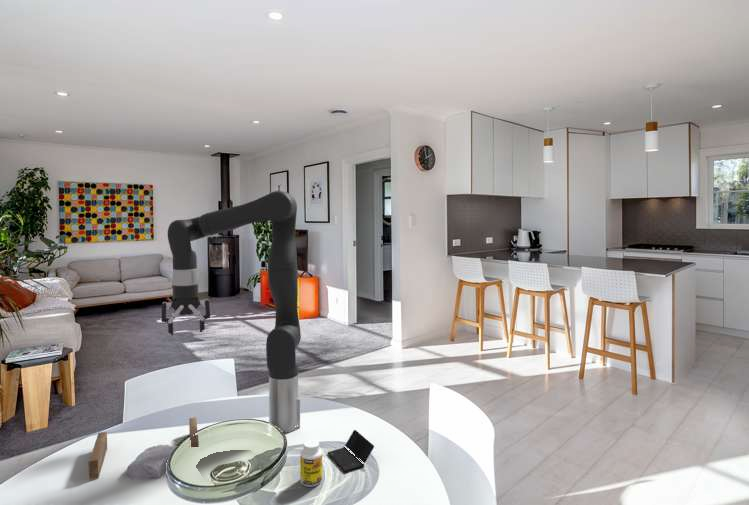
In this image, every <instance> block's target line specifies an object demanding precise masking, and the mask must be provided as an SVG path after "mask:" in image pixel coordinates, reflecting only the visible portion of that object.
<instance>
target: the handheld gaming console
mask: <svg viewBox="0 0 749 505" xmlns="http://www.w3.org/2000/svg"><path fill="white" fill-rule="evenodd" d="M344 446H346V447H347V448H349V449H350V450H351V451H352V452H353V453H354V454H355V456H354V455H353V454H351V453H350V452H349V451H350V450H349V451H348V450H347V449H346V448H345V447H344ZM344 446H343V447H340V448H337V449H333V450H331V451H327V456H328V457H329V458H330V459H331V461H333V462H334V463H335V465H336V466H337V467H338V468H339V469H341V471H343V472H342V473H344V474H347V473H351V472H353V471H357V470H360V469H363V468H365V464H366V462H367V461H368V459H369V457H370V455H371V454H372V452H373V450H374V449H375V445H374V444H373V443H372V442H370V440H368V439H367V438H365V436H363V435H362V434H361V433H360V432H359V431H358V430H356V429H354V430H353V431H352V433H351V435H350V436H349V438H348V440H347V442H346V443H345V445H344ZM356 457H357V458H358V459H359V458H360V459H361V460H362V461H363V462H364V463H365V464H362V463H361V462H362V461H361V460H360V459H359V460H360V461H361V462H360V461H359V460H358V459H357V458H356Z"/></svg>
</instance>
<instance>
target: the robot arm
mask: <svg viewBox="0 0 749 505" xmlns="http://www.w3.org/2000/svg"><path fill="white" fill-rule="evenodd" d="M297 211H298V204H297V201H296V199H295V197H294V196H293V195H292V194H291V193H289V192H287V191H286V192H285V191H281V190H275V191H272V192H270V193H268V194H265V195H264V196H261V197H259V198H257V199H255V200H252V201H248V202H247V203H243V204H239V205H236V206H231V207H227V208H223V209H218V210H214V211H210V212H207V213H204V214H201V215H200V216H196V217H194V218H189V219H187V218H186V219H175V220H173V221H172V222H171V223H170V224H169V226H168V229H167V241H168V244H169V248H170V252H171V255H172V275H171V284H172V285H171V286H172V301H171V302H169V301H168V302H167V301H163V302H162V303H161V318H160V319H161V322H162V323H167V326H168V327H167V328H168V329H167V332H168V334H170V336H174V322H173V321H175V319H176V318H177V317H178V315H180V316H186V315H189V316H190V315H193V314H194V315H196V317H197V318H198V319H199V332H200V333H203V331H204V330H205V327H206V326H205V320H207V319H210V318H211V310H210V309H211V308H210V300H209V299H208V298H205V299H203V300H200V299H199V274H198V261H197V260H198V258H197V254H196V251H195V250H193V249H192V243H191V242H194V241H197V240H200V239H203V238H205V237H206V238H207V237H208V236H215V235H219V234H223V233H226V232H229V231H233V230H236V229H239V228H241V227H244V226H247V225H250V224H255V223H260V222H271V229H272V230H271V232H272V235H271V236H272V239H271V242H270V243H271V244H270V249H269V253H268V259H267V281H268V288H269V292H270V295H271V297H272V301H273V304H274V308H275V309H274V310H275V324H274V328H273V329H272V330H270V331H269V333H268V334H267V337H266V342H265V344H266V346H265V350H266V352H265V353H266V356H265V357H266V368H267V369H268V370H267V371H268V403H269V404H268V413H269V414H268V415H269V416H268V424H269V423H271V424H273V425H275V426H277V427H278V428H280V429H281V430H282V431H283V432H284V433H283V434H285V433H290V432H293V431H294V430H297V429H300V428H301V399H300V397H299V365H298V363H297V362H296V360H297V359H296V348H297V347H298V346H299V344H300V342H301V338H302V337H301V336H302V333H301V328H300V318H299V312H298V311H299V310H298V300H299V299H298V296H299V291H298V289H299V288H298V286H299V283H298V281H299V277H298V276H299V272H298V270H299V269H298V268H299V267H298V258H297V257H298V256H297V253H298V252H297V243H296V225H297V223H296V222H297ZM200 305H202V307H204V310H205V314H202V313H201V311H200V310H199V309H198V308H199V306H200ZM170 307H171V308H173V312H172V313H171V315H170V316H169V317H167V310H169V309H170ZM297 425H298V426H297ZM295 426H296V427H295Z"/></svg>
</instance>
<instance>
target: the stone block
mask: <svg viewBox="0 0 749 505" xmlns="http://www.w3.org/2000/svg"><path fill="white" fill-rule="evenodd" d="M175 447H177V446H176V445H169V444H158V445H154V446H151V447H148V448H145V449H144V450H143V451H142V452H140V454H138V456H136V458H135V459H134V460H133V461H132V462H131V463H129V464H128V466H127V469H126V472H127V475H128V477H129V478H131V479H136V480H140V479H141V480H143V479H148V480H149V479H150V480H151V479H156V480H158V479H160V478H161V477H162V476H163V475H164V474H165V472H167V470H166V463H167V460H168V458H169V456H170V454H171V453H172V451H173V450H174V449H175Z"/></svg>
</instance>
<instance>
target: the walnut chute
mask: <svg viewBox="0 0 749 505" xmlns="http://www.w3.org/2000/svg"><path fill="white" fill-rule="evenodd" d="M197 421H198V420H197V417H190V418H189V419H188V422H189V423H188V424H189V425H188V426H189V428H188V429H189V441H190V440H191V447H199V446H200V445H199V443H200V442H199V434H198V435H195V433H197V432H198V424H197V423H198V422H197ZM198 433H199V432H198ZM193 434H194V436H193ZM107 450H108V432H107V431H103V432H98V434H97V436H96V439H95V442H94V446H93V448H92V451H91V453H90V456H89V459H88V475H89V476H88V477H89V478H88V479H89V481H92V480H98V479H99V478H100V475H101V472H102V469H103V465H104V460H105V457H106V454H107Z"/></svg>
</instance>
